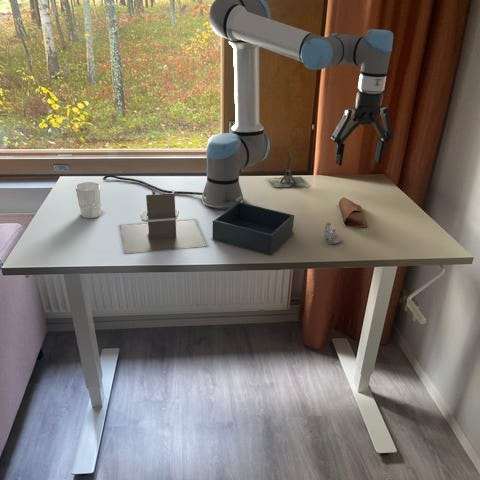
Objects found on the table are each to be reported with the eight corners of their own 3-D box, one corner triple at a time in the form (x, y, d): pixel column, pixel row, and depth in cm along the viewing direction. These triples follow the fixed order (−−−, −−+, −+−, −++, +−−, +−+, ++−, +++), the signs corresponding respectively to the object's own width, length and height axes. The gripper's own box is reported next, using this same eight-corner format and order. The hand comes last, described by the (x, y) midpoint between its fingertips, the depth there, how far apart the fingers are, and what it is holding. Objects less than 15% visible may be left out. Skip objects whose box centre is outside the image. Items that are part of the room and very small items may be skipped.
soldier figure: (341, 236, 170) (347, 241, 158) (329, 245, 171) (334, 251, 159) (326, 218, 168) (331, 222, 157) (315, 228, 169) (319, 232, 158)
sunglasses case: (368, 226, 173) (361, 210, 170) (349, 235, 175) (342, 219, 172) (360, 205, 188) (354, 190, 184) (343, 214, 190) (336, 199, 187)
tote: (212, 239, 162) (212, 220, 158) (237, 219, 175) (238, 201, 171) (270, 255, 155) (272, 235, 151) (292, 233, 168) (294, 215, 164)
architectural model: (120, 225, 168) (115, 183, 159) (194, 219, 174) (193, 178, 165) (125, 253, 152) (120, 207, 144) (206, 246, 158) (206, 201, 150)
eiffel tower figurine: (300, 177, 211) (304, 145, 203) (309, 186, 203) (313, 153, 195) (266, 179, 208) (268, 146, 200) (273, 188, 200) (276, 154, 192)
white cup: (107, 212, 176) (104, 184, 170) (93, 220, 170) (89, 192, 164) (89, 207, 179) (85, 180, 173) (74, 215, 173) (70, 187, 167)
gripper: (337, 94, 141) (326, 169, 154) (414, 92, 148) (398, 164, 160) (326, 89, 147) (317, 161, 159) (401, 87, 153) (386, 156, 166)
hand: (358, 163), depth 160 cm, fingers open, 13 cm apart
